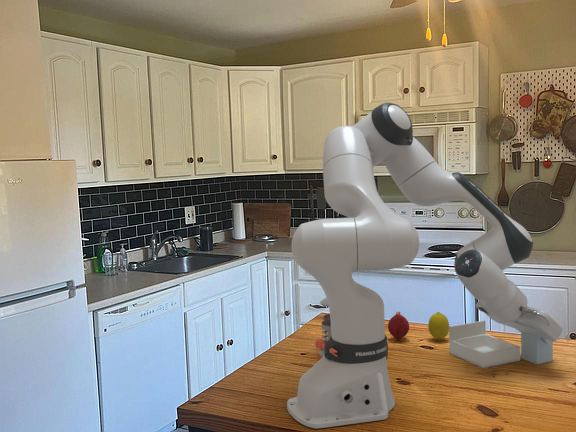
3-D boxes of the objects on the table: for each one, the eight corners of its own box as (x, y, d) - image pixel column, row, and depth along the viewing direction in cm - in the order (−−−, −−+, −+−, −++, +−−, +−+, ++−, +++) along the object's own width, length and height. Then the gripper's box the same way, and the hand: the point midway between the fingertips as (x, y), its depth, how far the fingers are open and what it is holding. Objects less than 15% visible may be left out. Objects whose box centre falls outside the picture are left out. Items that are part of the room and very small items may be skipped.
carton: (536, 364, 141) (536, 323, 140) (520, 358, 146) (520, 318, 145) (553, 360, 143) (552, 320, 142) (536, 354, 148) (536, 315, 147)
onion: (411, 342, 162) (410, 314, 161) (390, 343, 162) (389, 314, 161) (407, 336, 167) (406, 308, 167) (387, 337, 167) (386, 309, 167)
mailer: (483, 368, 140) (482, 339, 139) (449, 353, 152) (449, 326, 151) (520, 360, 144) (519, 332, 143) (484, 346, 156) (484, 320, 155)
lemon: (452, 338, 163) (451, 310, 162) (445, 344, 159) (445, 315, 158) (432, 336, 166) (431, 308, 165) (425, 342, 161) (425, 313, 161)
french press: (353, 345, 161) (350, 255, 159) (359, 360, 150) (356, 262, 147) (317, 347, 161) (313, 257, 158) (321, 362, 149) (317, 264, 147)
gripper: (548, 302, 130) (581, 338, 135) (484, 285, 149) (515, 317, 154) (532, 324, 129) (566, 360, 134) (470, 305, 148) (502, 337, 153)
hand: (538, 337), depth 144 cm, fingers closed on carton, 5 cm apart
